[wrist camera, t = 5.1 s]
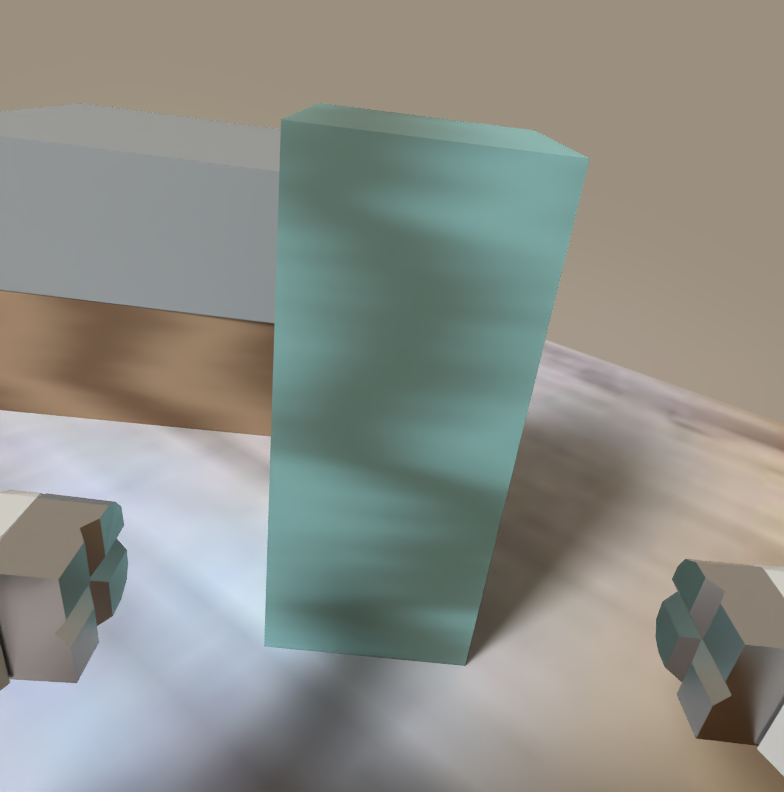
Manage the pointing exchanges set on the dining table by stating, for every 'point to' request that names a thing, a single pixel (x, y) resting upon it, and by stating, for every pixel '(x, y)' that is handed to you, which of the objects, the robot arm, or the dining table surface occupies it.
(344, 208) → the teal block
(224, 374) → the tower base
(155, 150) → the tower top
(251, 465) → the dining table surface
